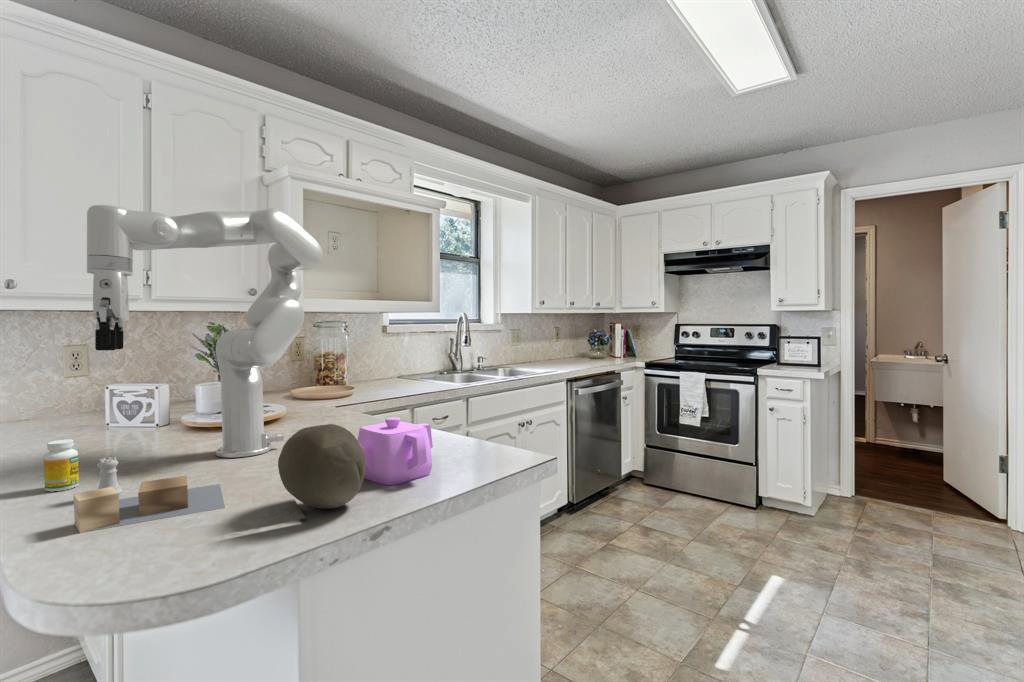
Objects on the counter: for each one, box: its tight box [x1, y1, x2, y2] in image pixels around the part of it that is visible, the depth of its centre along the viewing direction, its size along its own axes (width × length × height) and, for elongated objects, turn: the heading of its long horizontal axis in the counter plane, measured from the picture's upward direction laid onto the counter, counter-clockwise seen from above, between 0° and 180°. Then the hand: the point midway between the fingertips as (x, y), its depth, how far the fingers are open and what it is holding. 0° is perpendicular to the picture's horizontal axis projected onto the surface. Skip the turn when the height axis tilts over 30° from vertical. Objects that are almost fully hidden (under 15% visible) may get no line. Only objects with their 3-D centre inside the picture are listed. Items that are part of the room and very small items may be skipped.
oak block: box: [73, 487, 120, 534], centre depth 84 cm, size 5×5×5 cm
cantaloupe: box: [277, 423, 366, 510], centre depth 92 cm, size 14×14×15 cm
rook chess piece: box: [96, 456, 124, 497], centre depth 98 cm, size 4×4×8 cm
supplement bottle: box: [43, 438, 80, 493], centre depth 106 cm, size 5×5×10 cm
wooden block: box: [137, 475, 189, 516], centre depth 92 cm, size 7×7×4 cm
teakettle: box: [357, 416, 434, 486], centre depth 114 cm, size 17×17×12 cm
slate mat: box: [78, 483, 226, 534], centre depth 93 cm, size 20×16×1 cm
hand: (110, 349), depth 108 cm, fingers open, 9 cm apart
